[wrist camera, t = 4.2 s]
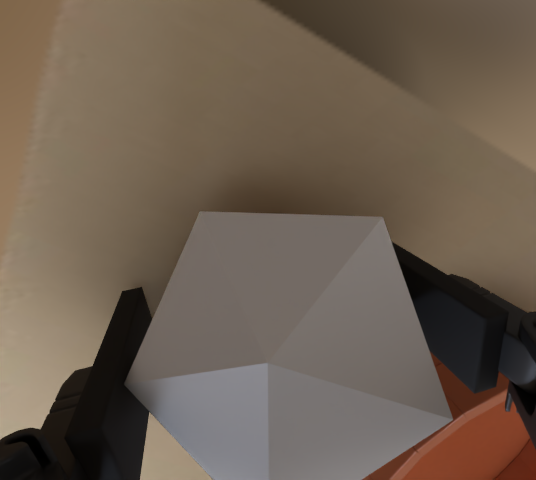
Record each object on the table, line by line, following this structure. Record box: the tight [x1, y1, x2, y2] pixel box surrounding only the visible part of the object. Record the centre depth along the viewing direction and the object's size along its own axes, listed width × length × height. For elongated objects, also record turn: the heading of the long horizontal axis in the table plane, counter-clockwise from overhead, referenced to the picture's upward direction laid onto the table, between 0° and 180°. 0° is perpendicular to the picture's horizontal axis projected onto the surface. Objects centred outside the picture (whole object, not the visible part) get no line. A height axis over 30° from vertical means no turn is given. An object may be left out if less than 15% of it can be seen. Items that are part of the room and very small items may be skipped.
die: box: [124, 211, 453, 480], centre depth 11 cm, size 8×9×10 cm
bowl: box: [362, 352, 536, 480], centre depth 19 cm, size 18×18×6 cm
